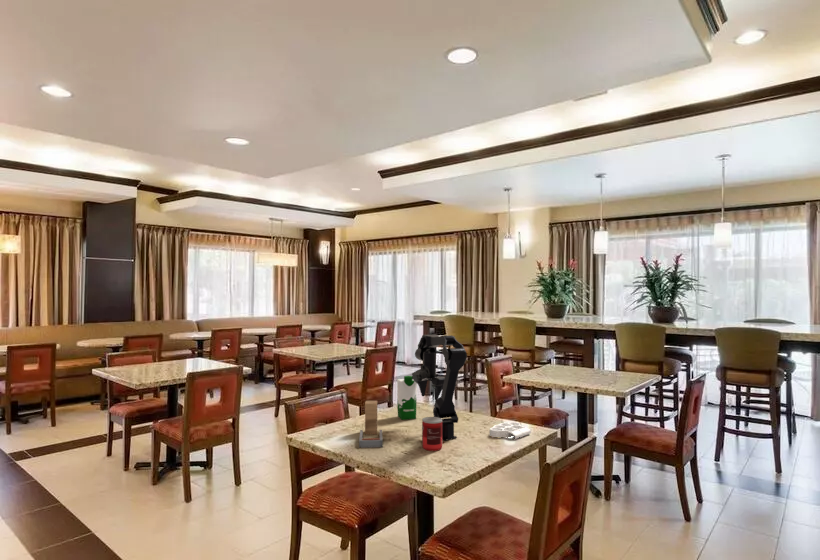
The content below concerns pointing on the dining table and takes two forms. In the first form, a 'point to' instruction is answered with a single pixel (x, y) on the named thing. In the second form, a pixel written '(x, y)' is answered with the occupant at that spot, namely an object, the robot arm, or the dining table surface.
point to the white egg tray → (509, 430)
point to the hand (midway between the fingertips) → (429, 398)
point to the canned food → (432, 433)
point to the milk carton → (406, 398)
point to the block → (371, 417)
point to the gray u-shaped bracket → (370, 441)
